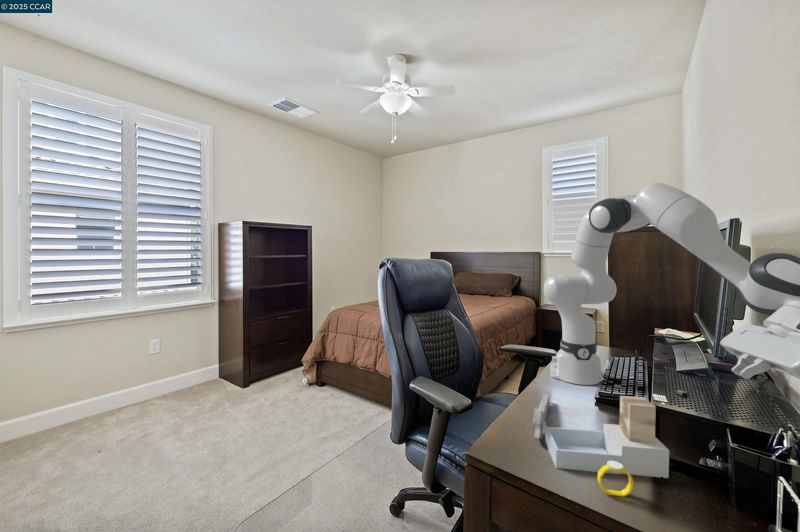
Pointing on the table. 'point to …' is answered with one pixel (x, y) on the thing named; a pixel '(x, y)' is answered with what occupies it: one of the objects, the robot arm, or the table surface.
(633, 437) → the block
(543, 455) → the table surface
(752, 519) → the table surface
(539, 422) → the wrench
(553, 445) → the tray
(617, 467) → the watch
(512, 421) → the table surface
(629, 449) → the riser
